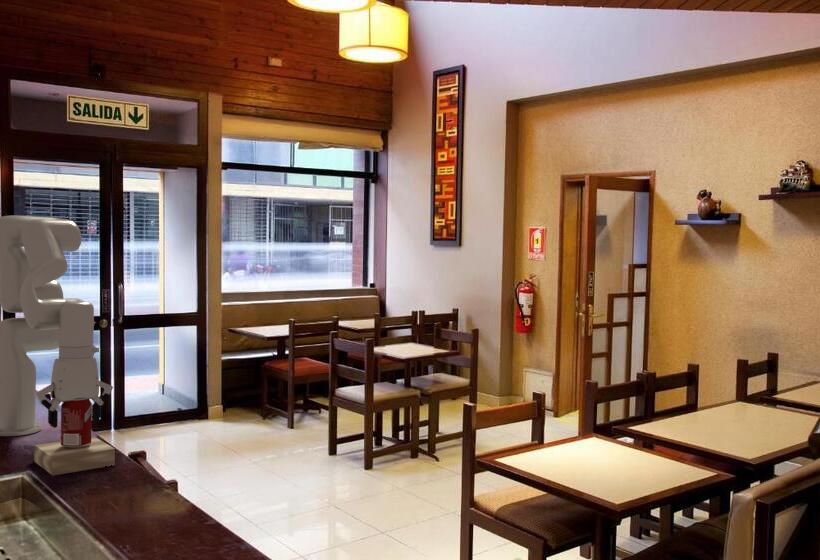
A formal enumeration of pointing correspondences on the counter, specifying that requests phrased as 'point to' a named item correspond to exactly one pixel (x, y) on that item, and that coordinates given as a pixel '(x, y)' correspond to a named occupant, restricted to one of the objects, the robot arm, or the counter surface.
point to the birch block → (73, 457)
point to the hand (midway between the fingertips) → (75, 423)
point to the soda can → (76, 423)
